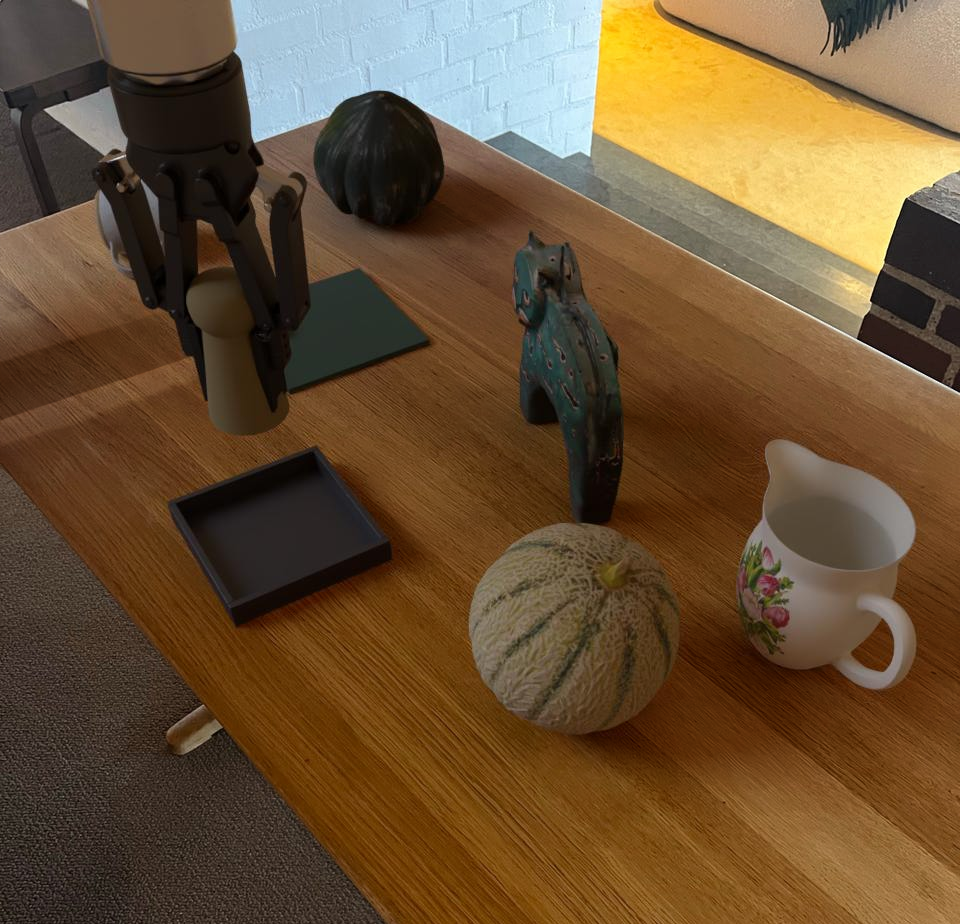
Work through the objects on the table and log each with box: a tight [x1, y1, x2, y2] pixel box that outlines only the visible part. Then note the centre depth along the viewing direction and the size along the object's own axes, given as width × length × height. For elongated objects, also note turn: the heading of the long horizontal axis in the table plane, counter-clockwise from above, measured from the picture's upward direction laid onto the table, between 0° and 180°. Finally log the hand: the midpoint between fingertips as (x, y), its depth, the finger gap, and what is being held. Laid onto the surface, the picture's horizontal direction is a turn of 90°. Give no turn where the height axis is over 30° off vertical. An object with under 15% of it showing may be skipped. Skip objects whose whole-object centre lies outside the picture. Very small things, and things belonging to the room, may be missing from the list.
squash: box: [312, 89, 445, 228], centre depth 115 cm, size 14×15×15 cm
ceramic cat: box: [511, 229, 625, 525], centre depth 84 cm, size 20×6×20 cm, turn 14°
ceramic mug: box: [93, 180, 165, 279], centre depth 111 cm, size 11×8×8 cm
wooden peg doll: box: [186, 265, 290, 437], centre depth 71 cm, size 6×6×11 cm
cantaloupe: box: [468, 522, 681, 736], centre depth 69 cm, size 15×15×15 cm
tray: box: [166, 444, 393, 628], centre depth 84 cm, size 14×14×2 cm
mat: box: [284, 267, 431, 395], centre depth 104 cm, size 16×16×1 cm
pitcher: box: [735, 438, 917, 691], centre depth 72 cm, size 11×18×14 cm, turn 24°
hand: (246, 395), depth 74 cm, fingers closed on wooden peg doll, 4 cm apart
